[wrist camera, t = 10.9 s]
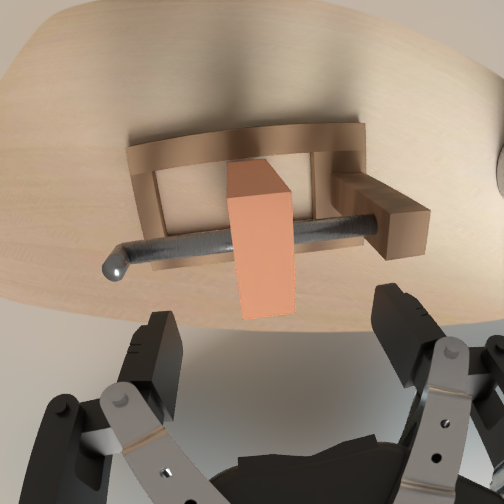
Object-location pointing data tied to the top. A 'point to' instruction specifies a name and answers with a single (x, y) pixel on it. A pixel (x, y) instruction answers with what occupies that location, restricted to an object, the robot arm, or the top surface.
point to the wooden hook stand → (323, 183)
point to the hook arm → (229, 242)
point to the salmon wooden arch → (261, 238)
